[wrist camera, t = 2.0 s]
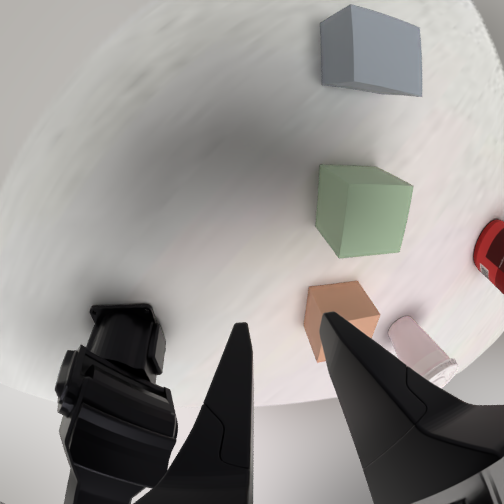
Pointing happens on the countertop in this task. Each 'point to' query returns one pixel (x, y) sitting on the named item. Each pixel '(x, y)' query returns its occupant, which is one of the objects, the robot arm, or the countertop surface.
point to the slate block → (371, 52)
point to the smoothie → (421, 352)
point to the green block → (362, 210)
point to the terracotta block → (338, 310)
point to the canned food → (491, 253)
